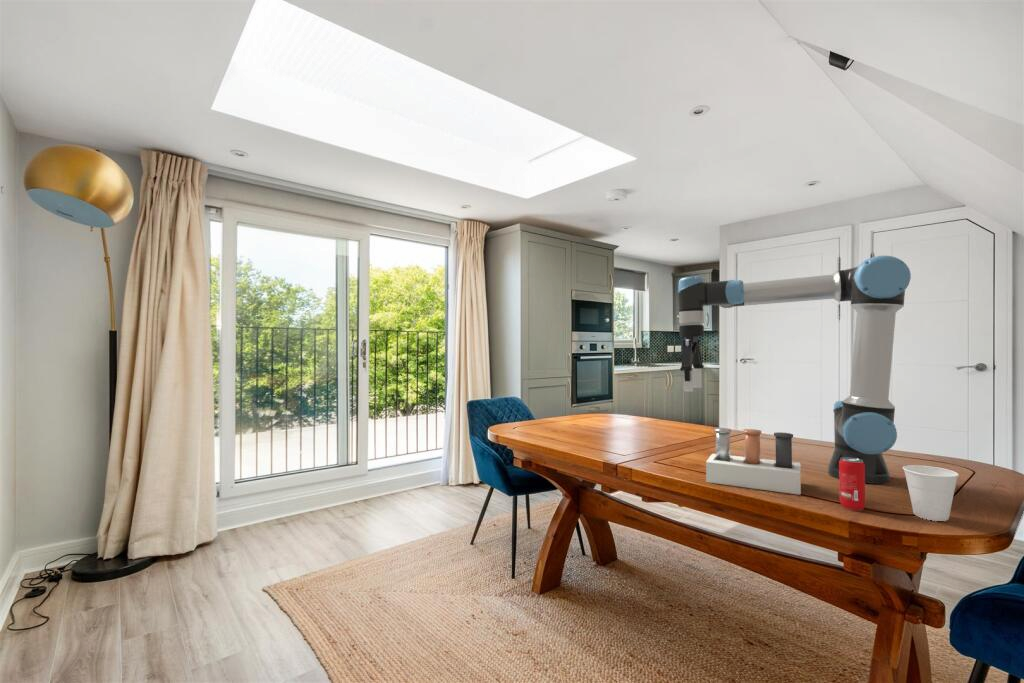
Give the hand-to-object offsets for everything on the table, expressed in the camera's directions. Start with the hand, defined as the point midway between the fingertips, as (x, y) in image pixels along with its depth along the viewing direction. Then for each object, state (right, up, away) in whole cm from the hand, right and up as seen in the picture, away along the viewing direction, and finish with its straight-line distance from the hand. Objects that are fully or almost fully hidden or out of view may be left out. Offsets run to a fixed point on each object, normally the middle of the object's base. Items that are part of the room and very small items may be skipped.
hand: (693, 389), depth 153 cm
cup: (+39, -26, -43) cm, 64 cm away
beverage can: (+26, -26, -36) cm, 51 cm away
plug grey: (+5, -21, -10) cm, 24 cm away
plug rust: (+12, -20, -14) cm, 28 cm away
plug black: (+19, -20, -19) cm, 33 cm away
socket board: (+12, -26, -14) cm, 32 cm away
